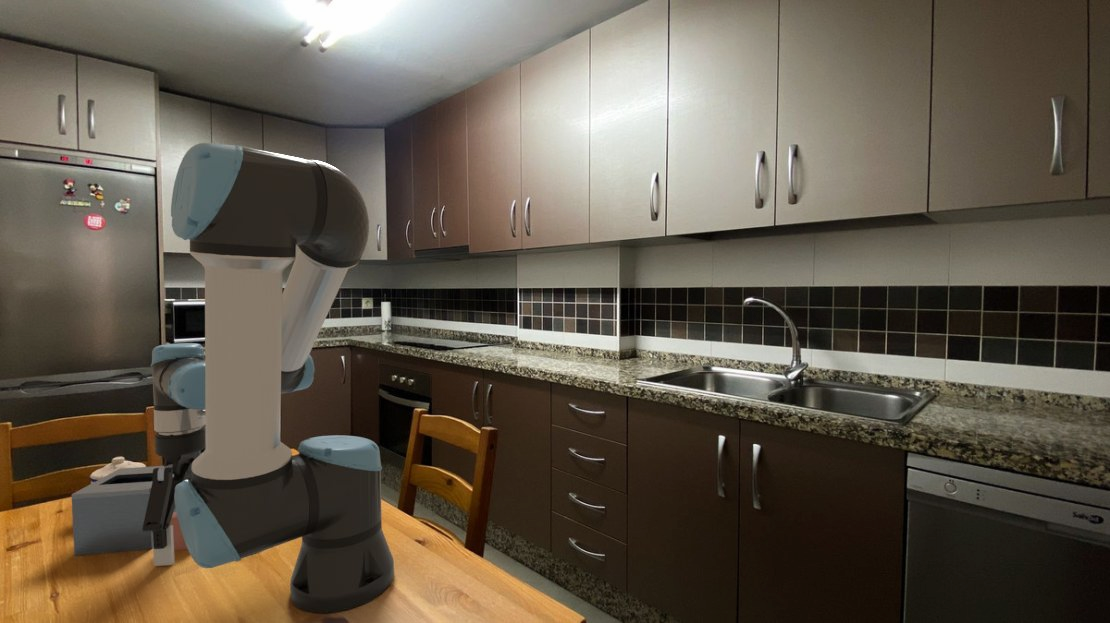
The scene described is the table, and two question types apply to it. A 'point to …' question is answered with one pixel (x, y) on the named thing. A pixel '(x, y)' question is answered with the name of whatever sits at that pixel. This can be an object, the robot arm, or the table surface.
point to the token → (177, 533)
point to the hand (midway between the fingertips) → (185, 544)
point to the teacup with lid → (113, 468)
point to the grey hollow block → (113, 513)
